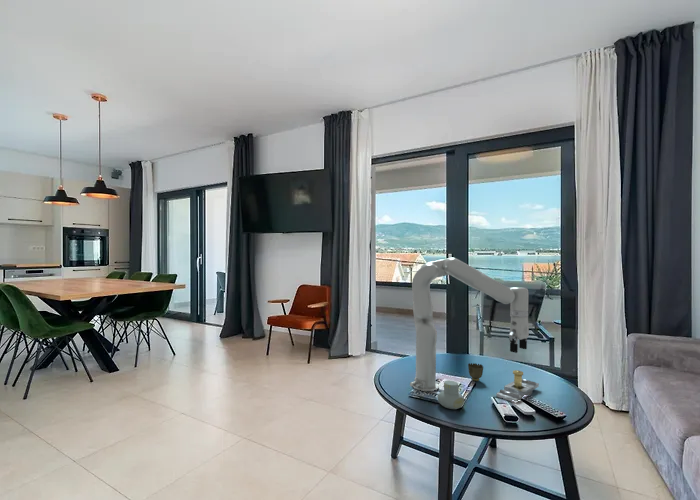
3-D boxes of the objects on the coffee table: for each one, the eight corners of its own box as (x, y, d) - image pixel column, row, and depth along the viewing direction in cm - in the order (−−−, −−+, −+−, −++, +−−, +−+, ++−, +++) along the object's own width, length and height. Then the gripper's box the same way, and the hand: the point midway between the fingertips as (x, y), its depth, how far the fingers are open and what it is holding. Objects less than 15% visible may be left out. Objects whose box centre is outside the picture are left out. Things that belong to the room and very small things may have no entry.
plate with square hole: (516, 403, 152) (516, 393, 152) (496, 396, 159) (496, 387, 159) (538, 389, 168) (538, 381, 168) (519, 384, 175) (519, 376, 175)
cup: (484, 384, 174) (484, 367, 174) (468, 382, 176) (469, 366, 176) (481, 378, 182) (482, 363, 182) (467, 377, 183) (467, 362, 183)
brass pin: (520, 395, 160) (520, 374, 160) (510, 392, 164) (511, 371, 164) (524, 393, 163) (524, 372, 163) (515, 390, 167) (515, 369, 167)
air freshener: (452, 400, 155) (452, 377, 155) (467, 407, 148) (467, 383, 148) (434, 405, 149) (434, 382, 149) (449, 413, 142) (449, 388, 142)
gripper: (519, 317, 155) (518, 355, 155) (535, 313, 167) (534, 349, 166) (502, 314, 161) (501, 351, 161) (519, 310, 172) (518, 345, 172)
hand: (518, 350), depth 164 cm, fingers open, 9 cm apart
